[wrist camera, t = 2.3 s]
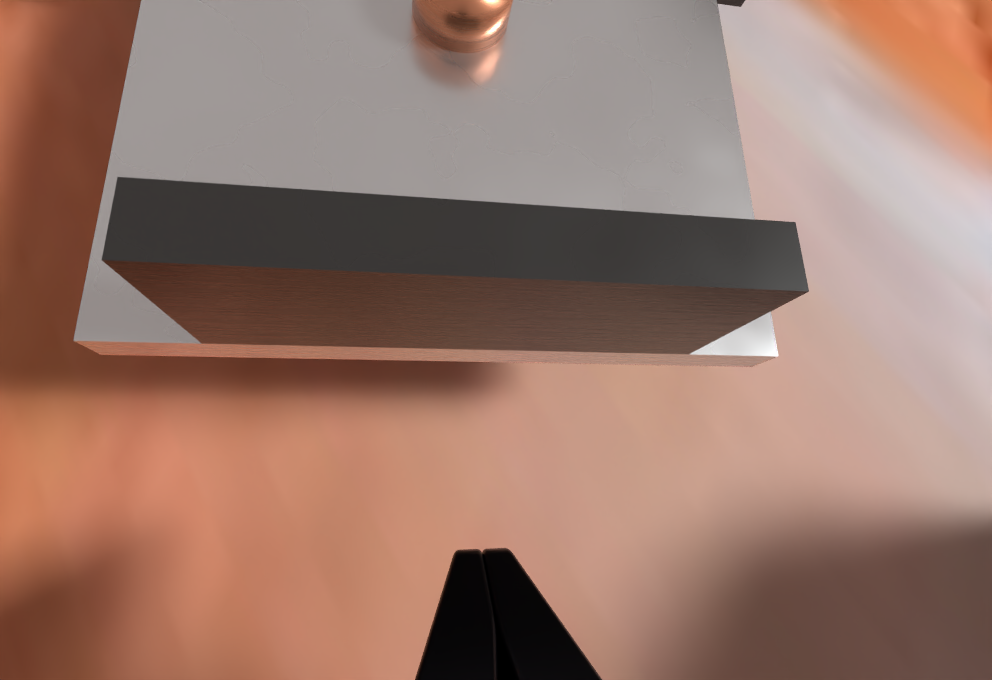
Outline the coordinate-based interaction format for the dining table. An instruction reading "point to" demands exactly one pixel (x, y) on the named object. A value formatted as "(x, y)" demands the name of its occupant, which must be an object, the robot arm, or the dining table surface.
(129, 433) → the dining table surface
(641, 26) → the lid
